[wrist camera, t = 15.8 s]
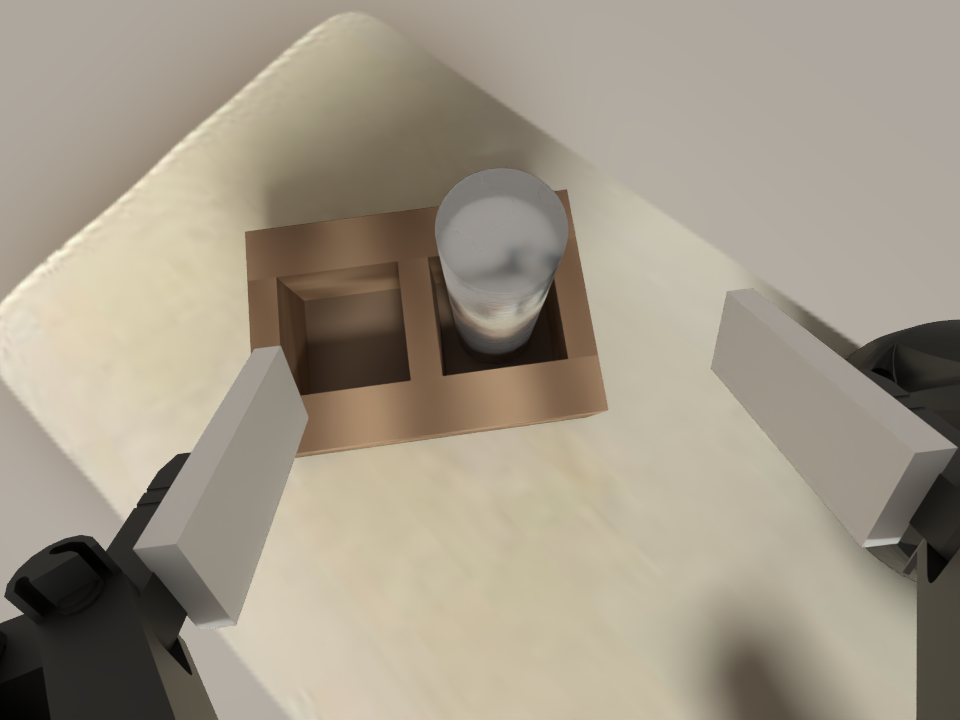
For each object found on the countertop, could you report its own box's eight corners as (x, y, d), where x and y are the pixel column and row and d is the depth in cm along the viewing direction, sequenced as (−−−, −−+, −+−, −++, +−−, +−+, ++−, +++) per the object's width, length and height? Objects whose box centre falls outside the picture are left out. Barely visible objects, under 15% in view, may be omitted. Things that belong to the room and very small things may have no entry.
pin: (524, 288, 29) (556, 160, 16) (535, 359, 28) (578, 282, 15) (452, 297, 29) (427, 176, 16) (461, 369, 28) (443, 300, 15)
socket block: (553, 231, 31) (566, 189, 26) (586, 417, 28) (608, 410, 24) (283, 267, 30) (245, 231, 26) (295, 457, 28) (256, 459, 23)
